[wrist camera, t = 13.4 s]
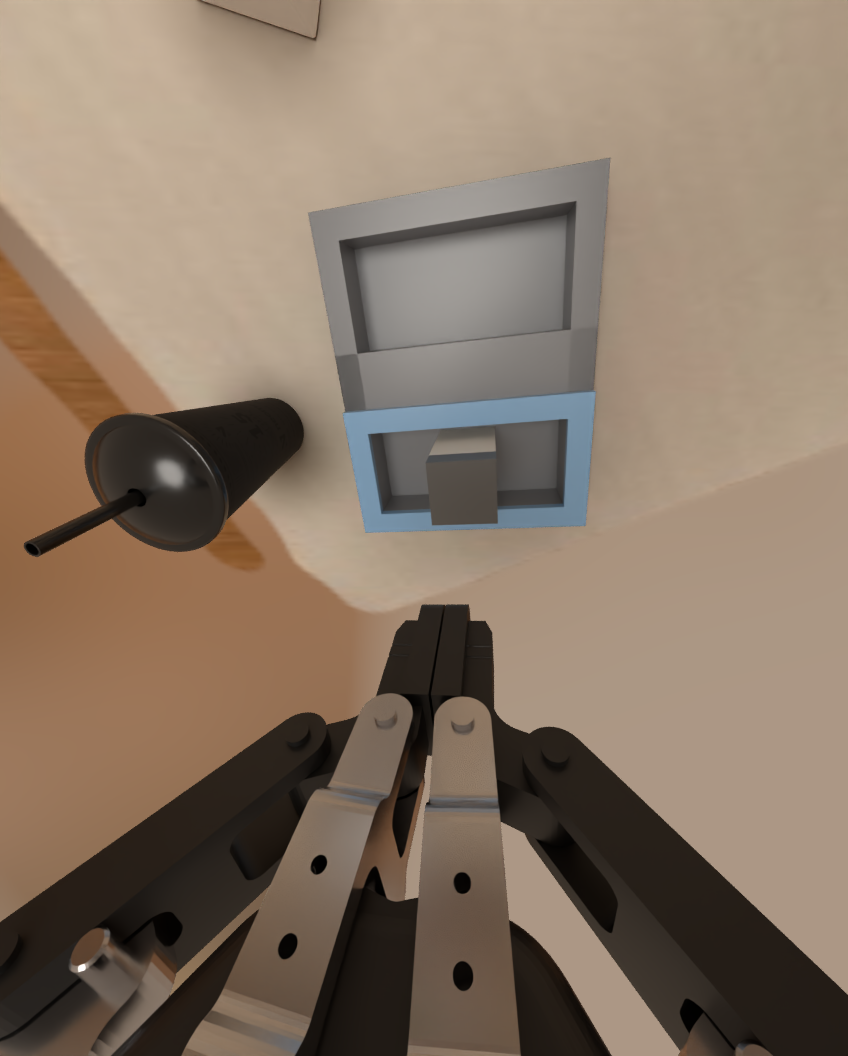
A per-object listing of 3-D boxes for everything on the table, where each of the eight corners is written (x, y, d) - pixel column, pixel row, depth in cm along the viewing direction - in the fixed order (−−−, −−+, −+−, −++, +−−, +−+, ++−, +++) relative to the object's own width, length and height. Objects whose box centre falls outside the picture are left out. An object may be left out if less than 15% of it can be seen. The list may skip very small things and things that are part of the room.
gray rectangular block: (494, 426, 29) (496, 458, 22) (496, 478, 31) (497, 523, 24) (440, 430, 30) (425, 462, 23) (444, 480, 32) (431, 525, 25)
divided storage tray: (592, 182, 23) (613, 153, 19) (573, 500, 32) (585, 525, 28) (332, 227, 26) (303, 210, 22) (380, 508, 35) (365, 532, 31)
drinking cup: (298, 489, 35) (107, 655, 18) (219, 440, 34) (-67, 564, 17) (336, 416, 32) (147, 531, 14) (250, 358, 31) (-70, 406, 13)
